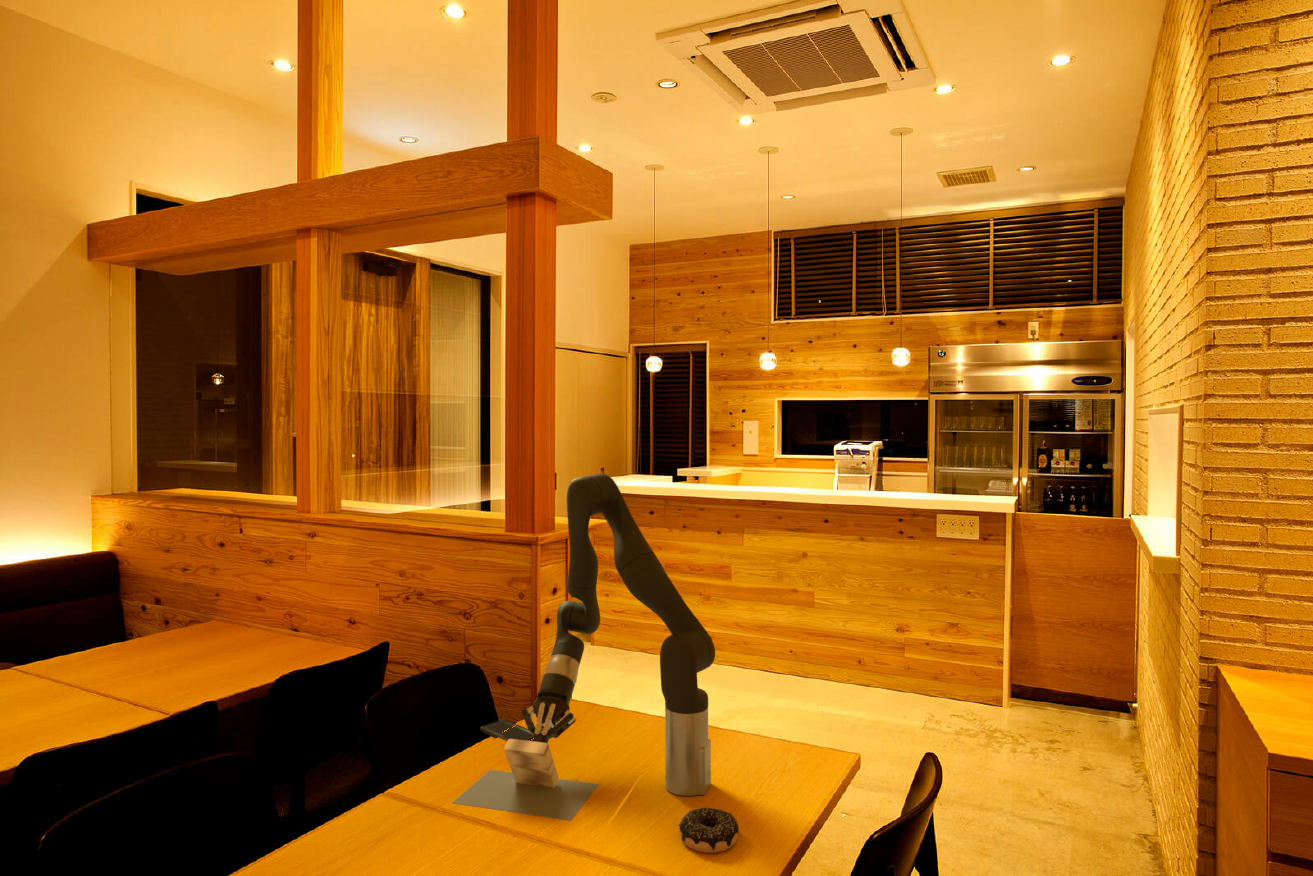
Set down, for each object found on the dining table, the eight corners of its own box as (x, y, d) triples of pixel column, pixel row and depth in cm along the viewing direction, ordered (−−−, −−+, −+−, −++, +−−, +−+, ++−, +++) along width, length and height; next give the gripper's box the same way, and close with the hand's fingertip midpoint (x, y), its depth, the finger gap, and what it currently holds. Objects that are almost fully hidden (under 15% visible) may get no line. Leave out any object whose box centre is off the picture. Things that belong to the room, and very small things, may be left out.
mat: (599, 786, 166) (599, 784, 166) (570, 823, 151) (570, 820, 151) (490, 772, 174) (490, 769, 174) (451, 805, 158) (451, 803, 158)
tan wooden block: (559, 776, 167) (548, 742, 162) (554, 788, 165) (543, 754, 159) (521, 771, 170) (509, 737, 164) (516, 782, 167) (503, 749, 162)
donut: (734, 823, 151) (734, 803, 151) (742, 857, 139) (742, 835, 139) (677, 824, 151) (677, 804, 151) (681, 858, 139) (681, 835, 139)
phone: (504, 719, 204) (540, 734, 193) (504, 723, 204) (540, 738, 193) (478, 727, 198) (514, 743, 188) (478, 731, 198) (514, 748, 188)
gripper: (527, 669, 178) (502, 743, 166) (581, 674, 174) (560, 750, 162) (537, 685, 183) (514, 758, 171) (590, 690, 179) (570, 765, 167)
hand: (536, 754), depth 167 cm, fingers closed
